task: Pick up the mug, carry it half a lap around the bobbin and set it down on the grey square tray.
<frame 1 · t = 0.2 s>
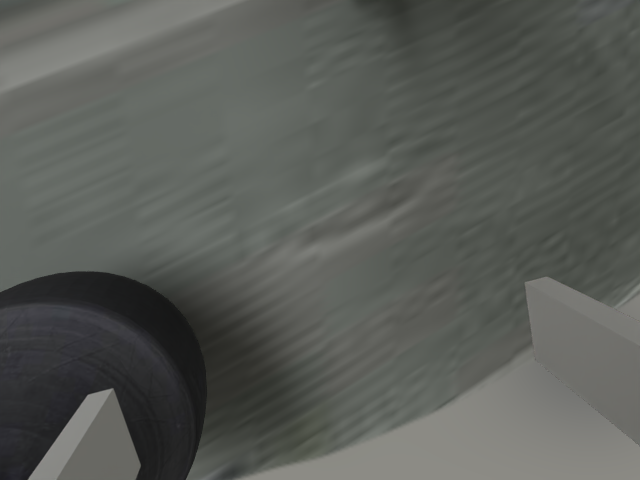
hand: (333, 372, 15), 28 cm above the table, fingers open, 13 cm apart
pitcher: (102, 332, 42), on the table
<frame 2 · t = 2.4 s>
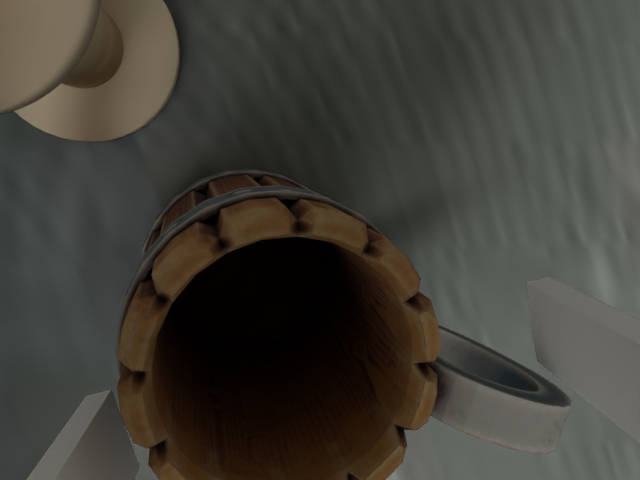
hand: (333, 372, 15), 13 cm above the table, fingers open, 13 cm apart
bobbin: (86, 49, 24), on the table
mug: (289, 278, 27), on the table
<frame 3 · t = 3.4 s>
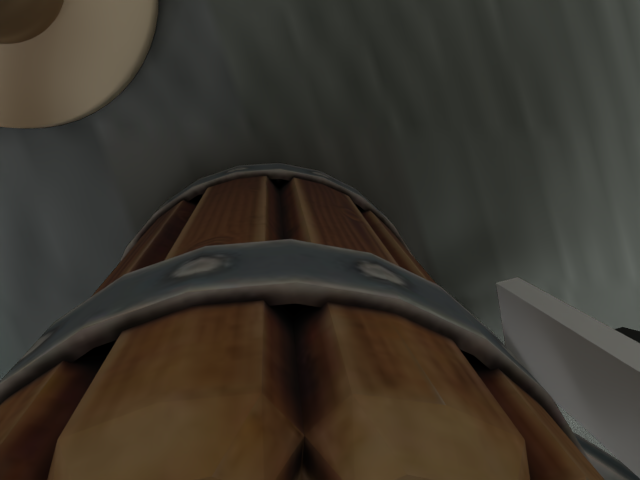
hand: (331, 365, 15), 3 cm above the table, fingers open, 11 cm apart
mug: (332, 316, 19), on the table, touching gripper
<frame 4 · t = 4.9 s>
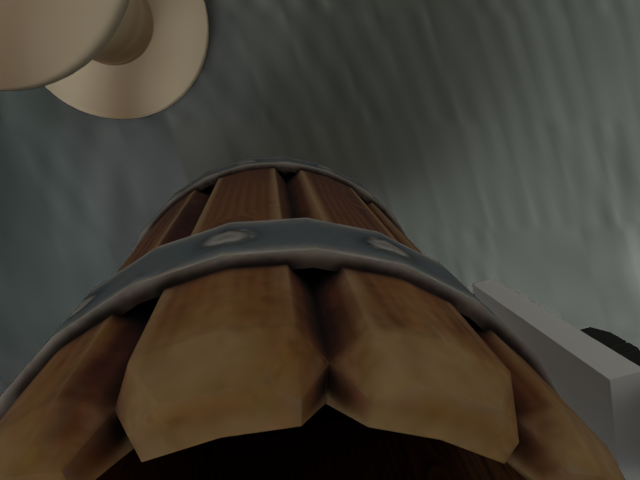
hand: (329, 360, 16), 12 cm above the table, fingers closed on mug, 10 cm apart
bobbin: (117, 25, 24), on the table
mug: (333, 305, 20), point 8 cm above the table, touching gripper
when the fingers open (5 cm above the table, at t = 12.1 s): mug moves 1 cm, resting on grey square tray.
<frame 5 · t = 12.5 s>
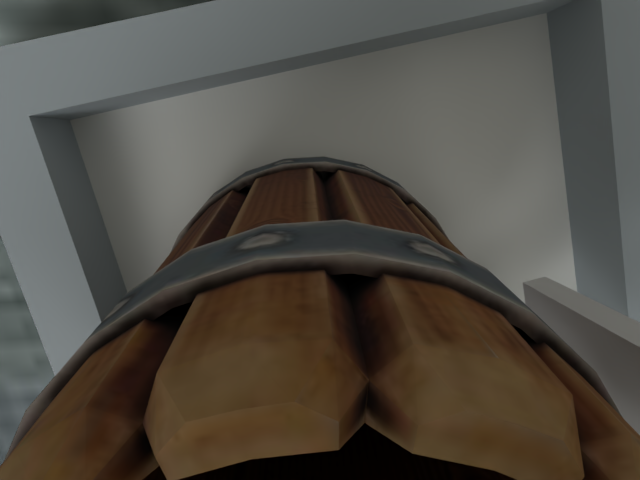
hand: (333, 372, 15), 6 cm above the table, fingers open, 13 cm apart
grey square tray: (365, 308, 21), on the table
mug: (371, 308, 19), point 1 cm above the table, touching gripper, grey square tray
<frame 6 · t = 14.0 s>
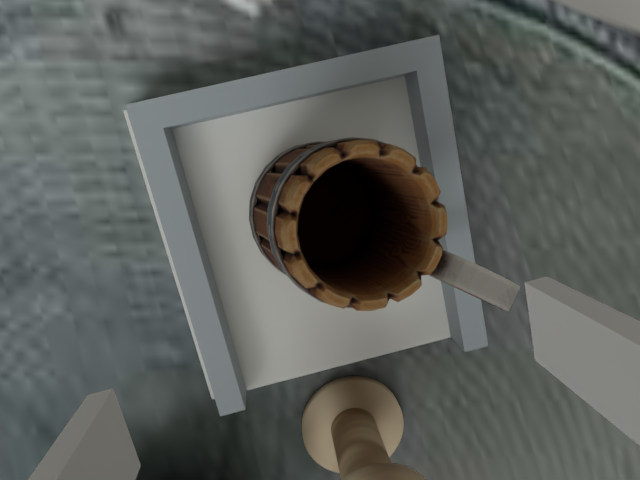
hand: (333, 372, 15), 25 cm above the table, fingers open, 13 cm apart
grey square tray: (318, 227, 39), on the table
bobbin: (351, 422, 43), on the table
mug: (344, 225, 38), point 1 cm above the table, touching grey square tray
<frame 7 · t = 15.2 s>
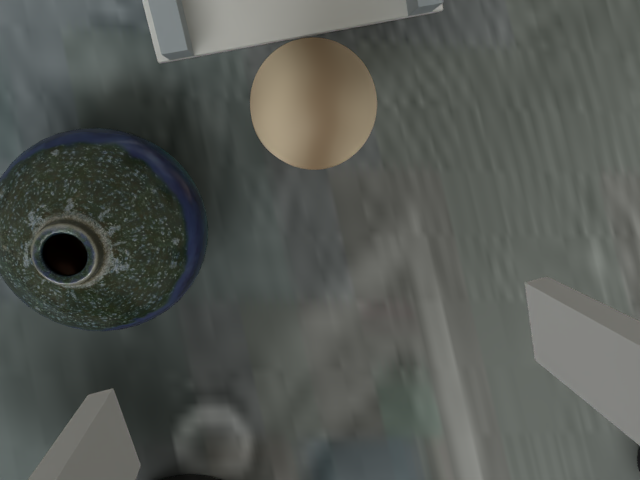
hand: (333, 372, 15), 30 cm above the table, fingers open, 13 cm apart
bobbin: (303, 112, 42), on the table
vase: (129, 216, 43), on the table
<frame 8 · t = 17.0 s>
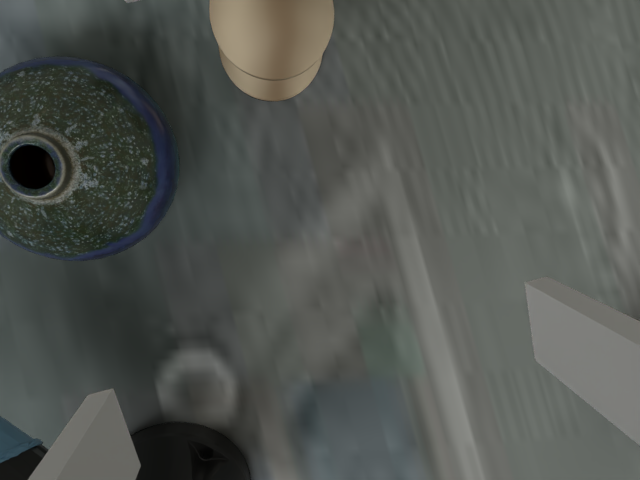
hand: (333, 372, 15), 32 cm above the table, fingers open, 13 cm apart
bobbin: (271, 48, 43), on the table
vase: (103, 159, 43), on the table
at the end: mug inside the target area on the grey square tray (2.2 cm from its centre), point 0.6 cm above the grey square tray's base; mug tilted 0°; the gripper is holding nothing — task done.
